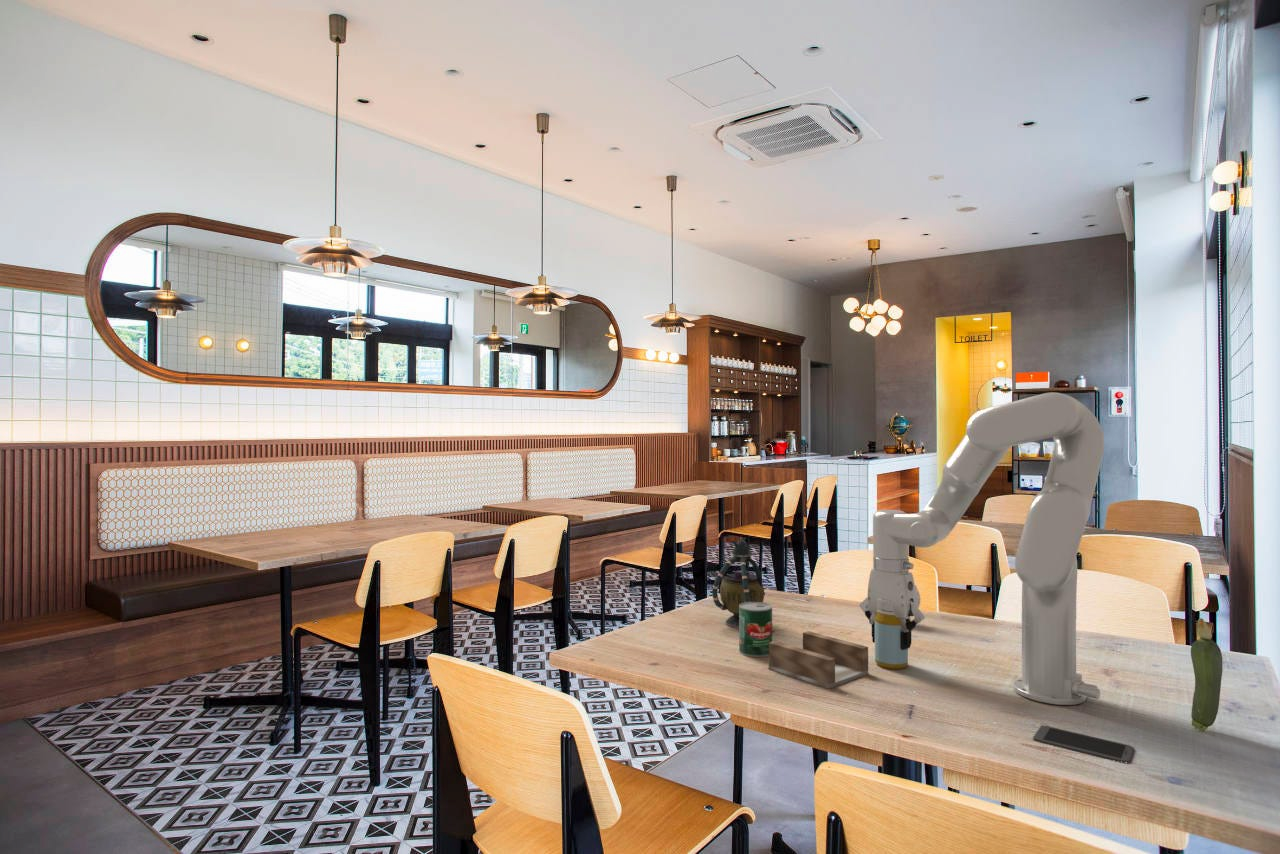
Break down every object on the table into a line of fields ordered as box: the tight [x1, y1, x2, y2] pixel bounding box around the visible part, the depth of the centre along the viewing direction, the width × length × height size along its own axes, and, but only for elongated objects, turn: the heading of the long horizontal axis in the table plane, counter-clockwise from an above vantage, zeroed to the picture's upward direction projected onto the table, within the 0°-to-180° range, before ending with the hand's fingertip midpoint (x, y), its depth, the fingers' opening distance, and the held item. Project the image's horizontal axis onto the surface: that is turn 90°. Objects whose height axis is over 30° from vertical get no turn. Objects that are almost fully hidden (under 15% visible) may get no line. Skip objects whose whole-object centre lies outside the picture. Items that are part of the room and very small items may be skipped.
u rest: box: [768, 630, 869, 689], centre depth 158 cm, size 16×14×6 cm
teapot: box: [711, 538, 766, 629], centre depth 200 cm, size 12×25×23 cm, turn 151°
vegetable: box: [1190, 617, 1224, 732], centre depth 126 cm, size 4×4×20 cm
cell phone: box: [1032, 725, 1135, 764], centre depth 121 cm, size 7×14×1 cm, turn 50°
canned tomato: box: [738, 602, 773, 658], centre depth 172 cm, size 8×8×11 cm
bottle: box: [874, 598, 909, 670], centre depth 162 cm, size 7×7×15 cm
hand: (891, 644), depth 162 cm, fingers closed on bottle, 6 cm apart
